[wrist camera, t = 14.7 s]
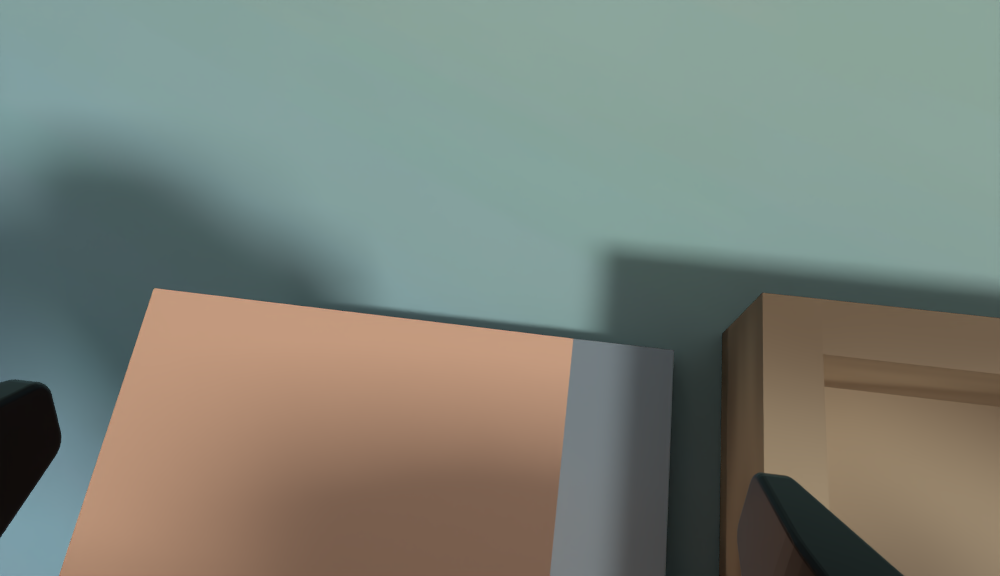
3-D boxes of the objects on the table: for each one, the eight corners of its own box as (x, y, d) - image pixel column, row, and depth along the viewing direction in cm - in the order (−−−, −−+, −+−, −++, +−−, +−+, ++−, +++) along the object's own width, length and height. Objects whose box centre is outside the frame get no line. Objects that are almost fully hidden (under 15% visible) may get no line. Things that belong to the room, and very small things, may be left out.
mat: (649, 842, 14) (654, 855, 13) (165, 764, 14) (150, 773, 14) (668, 356, 17) (673, 350, 16) (279, 311, 18) (271, 304, 17)
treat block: (517, 656, 14) (519, 876, 5) (331, 628, 14) (-9, 783, 5) (539, 461, 16) (573, 338, 6) (368, 438, 16) (153, 288, 6)
